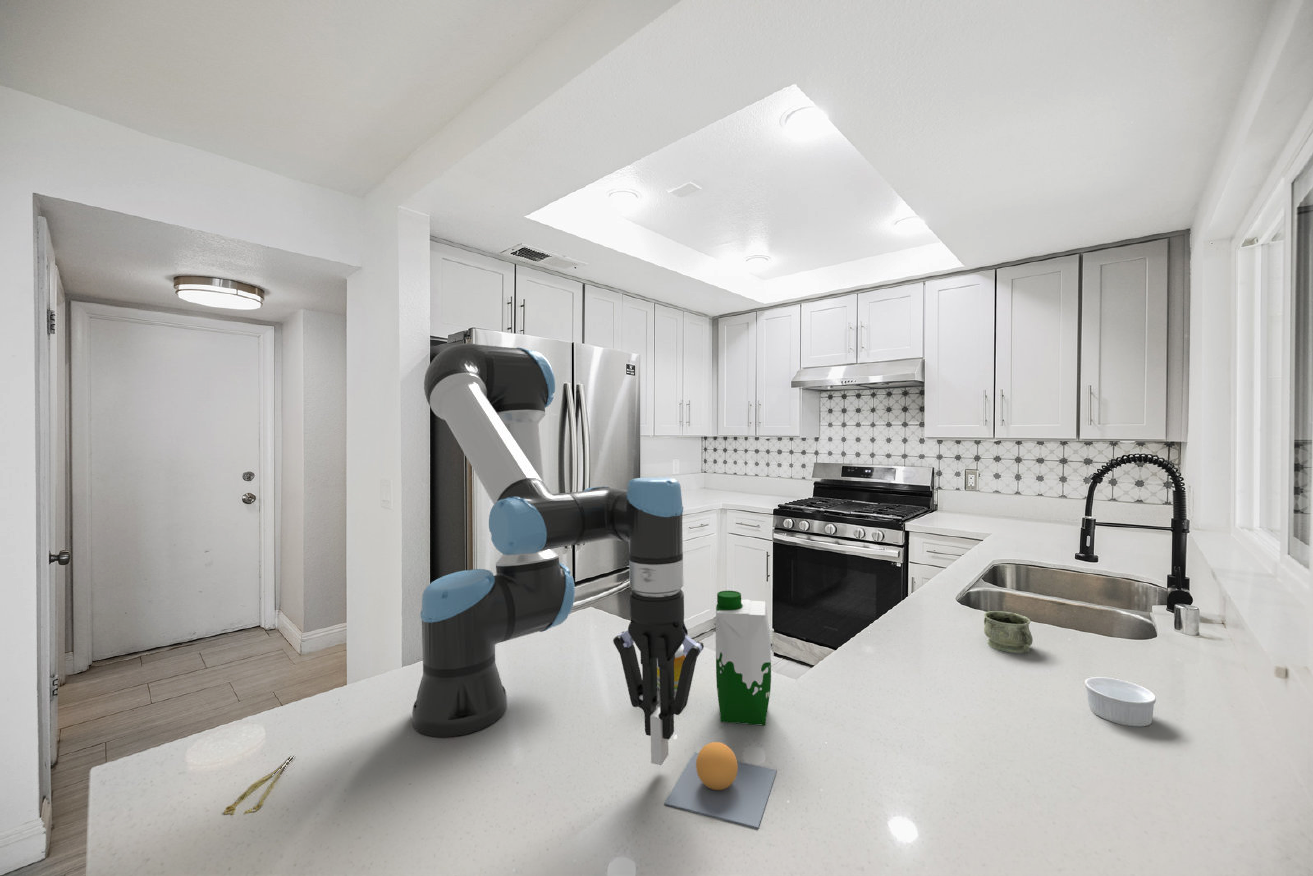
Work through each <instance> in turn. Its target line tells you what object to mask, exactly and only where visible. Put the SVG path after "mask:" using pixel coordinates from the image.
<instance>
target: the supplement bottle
mask: <svg viewBox="0 0 1313 876" xmlns="http://www.w3.org/2000/svg"><path fill="white" fill-rule="evenodd" d="M683 649H684V646H683V644H682V645H681V646H680V647H679V649H678V650H677V652H676V653H675V660H674V690H675V693H676V691H677V686H678V682H679V677H680V673H681V668H682V664H683V661H684V658H685V657H686V656H684V654H683ZM657 689H659V690H660V673H659V667H658V658H657Z"/></svg>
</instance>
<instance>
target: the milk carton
mask: <svg viewBox="0 0 1313 876" xmlns="http://www.w3.org/2000/svg"><path fill="white" fill-rule="evenodd" d="M716 594H717V595H716V601H717V602H716V603H717V604H716V606H715V610H716V611H715V618H716V619H715V671H716V672H715V673H716V674H715V675H716V676H715V677H716V694H717V700H718V701H717V702H718V707H719V715H720V722H721V723H732V724H741V723H748V724H747V725H753V724H762V725H761V726H766V722H767V718H768V717H767V715H768V709H769V703H770V698H771V684H772V657H771V656H772V655H771V654H772V652H771V650H772V649H771V648H772V647H771V633H770V630H771V629H770V623H769V616H768V610H767V601H764V600H751V599H742V594H741V592H739V591H735V590H721V591H718V592H717V593H716Z"/></svg>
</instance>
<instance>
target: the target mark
mask: <svg viewBox="0 0 1313 876" xmlns="http://www.w3.org/2000/svg"><path fill="white" fill-rule="evenodd" d="M698 754H699V752H696V751H695V752H693V754H692V756H691V757H690V758H689V761H688V763H686V765H685V768H684V769H683V771H682V773H681V774H680V775H679V777H678V779H677V781H675V782H676V783H675V785H674V786H673V787H672V789H671V791H670V793H669V794H668V796H667V798H666V799H665V801H664V806H667V807H671V808H676V809H679V810H684V811H687V812H692V813H695V814H700V815H703V816H706V817H710V818H714V819H718V820H722V821H727V822H730V823H734V824H738V825H742V826H744V827H749V828H753V829H757V830H758V829H759V827H760V825H761V822H762V819H763V815H764V813H765V810H766V806H767V803H768V800H769V797H770V794H771V791H772V788H771V787H773V785H772V784H774V782H775V779H774V778H776V776H775V775H777V772H778V769H775V768H770V767H766V766H761V765H756V764H752V763H746V762H743V761H739V760H737V765H738V770H737V775H736V778H735V780H734V781H733V783H732V784H731V785H730V786H729V787H727V788H725V789H723V790H714V789H711V788H709V787H707V786H706V785H704V784H703V783H702V781H701V780H700V778H699V776H698V774H697V769H696V760H697V756H698ZM773 781H774V782H773Z"/></svg>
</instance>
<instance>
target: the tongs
mask: <svg viewBox="0 0 1313 876" xmlns="http://www.w3.org/2000/svg"><path fill="white" fill-rule="evenodd" d="M291 756H293V757H294V756H295V755H289V757H288V758H286V760H285V761H284V762H283V763H282V764H281V765H279V766H278V767H277V768H276V769H275V770H274V771H272V772H271V773H268V774H267V775H264V776H263V777H261V778H260V779H258V780H256V781H255V782H253V783H252V784H251V785H250V786H249V787H248V788H247V789H246V790H245V791H244V792H242V794H240V795H239V796H238V798H237V799H236V800H235V801H234V802H233V803H232V804H231V805H228V806H226V807H225V810H224V811H223V813H224V815H231V816H234V814H235V812H236V809H237V808H236V807H237V806H239V804H241V802H243V801H244V800H245V799H246V798H248V797H249V796H250V795H251V794H252V793H253V792H255V791H256V790H258V789H259V788H260V787H261V786H262V785H263V784H265V783H266V782H268V781H269V780H270V779H271V778H272V777H273V776H272V775H273V774H275V773H276V772H277V771H278V770H279V769H281V768H282V766H283V765H284V764H285V763H286V761H287V760H289V759H290V757H291ZM293 757H292V758H291V759H290V760H289V762H290V761H291V760H292V759H293ZM293 760H294V759H293ZM293 760H292V761H293ZM292 761H291V762H292ZM289 762H287V763H286V765H288V764H289ZM286 765H285V766H284V767H283V768H282V769H281V770H280V771H278V772H277V773H276V774H275V777H274V779H273V781H272V782H271V783H270V784H269V785H268V786H267V789H266V790H265V791H264V793H263V794H262V796H261V797H260V799H259V803H258V804H257V805H254V806H253V807H252V808H249V809H248V810H245V811H244V813H243V814H244V815H246V814H249V813H256V812H257V811H258V810H260V808H261V807H262V806H263V805H264V802H265V800H266V799H267V798H268V796H269V794H270V793H271V792H272V790H273V789H274V787H275V785H276V784H277V781H278V780H279V779H280V777H281V776H282V775H283V773H284V772H283V771H285V770H286V769H285V767H286ZM289 765H290V764H289ZM289 765H288V766H289ZM284 769H285V770H284ZM282 772H283V773H282ZM280 775H281V776H280ZM278 778H279V779H278ZM277 779H278V780H277ZM253 809H254V810H253Z"/></svg>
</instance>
